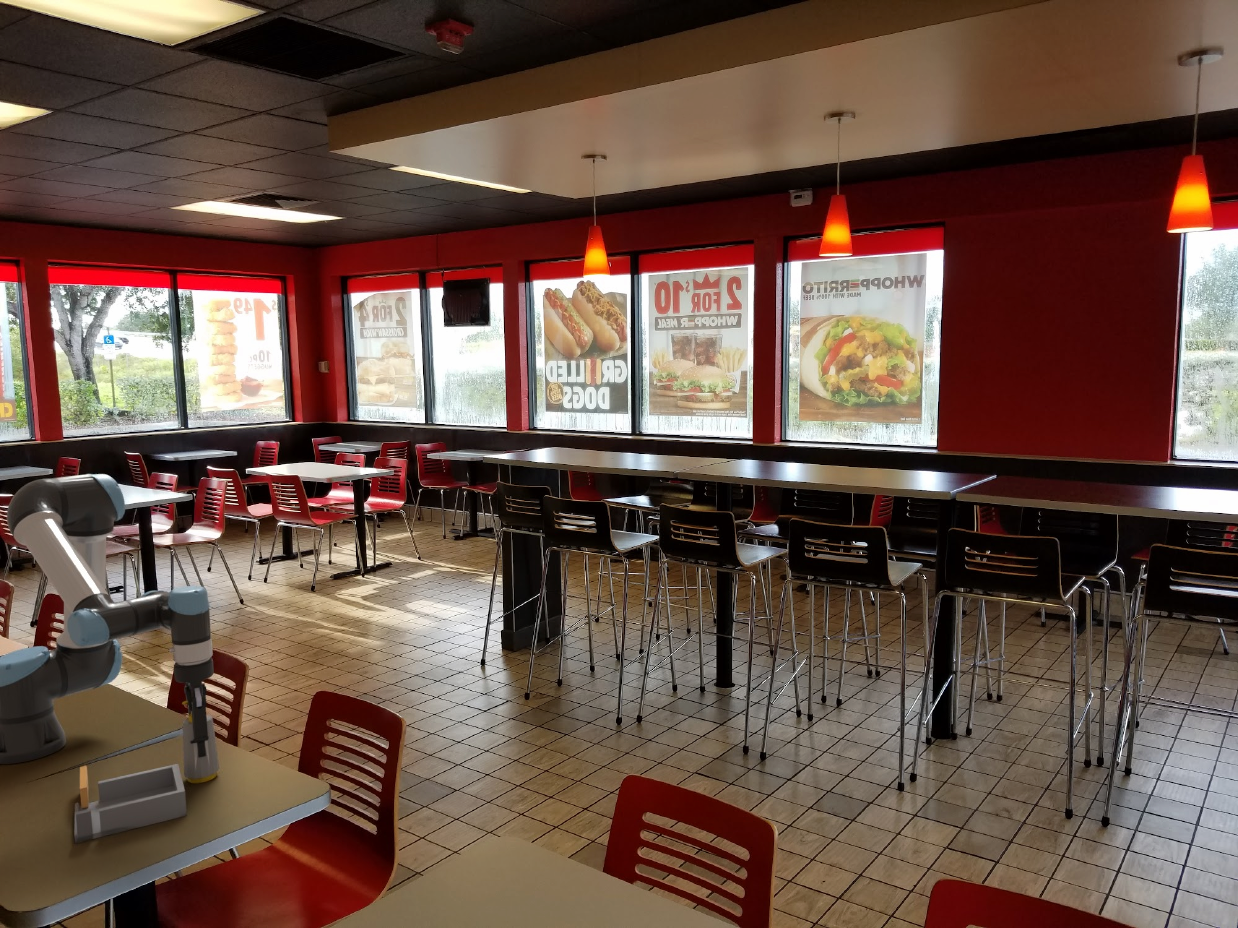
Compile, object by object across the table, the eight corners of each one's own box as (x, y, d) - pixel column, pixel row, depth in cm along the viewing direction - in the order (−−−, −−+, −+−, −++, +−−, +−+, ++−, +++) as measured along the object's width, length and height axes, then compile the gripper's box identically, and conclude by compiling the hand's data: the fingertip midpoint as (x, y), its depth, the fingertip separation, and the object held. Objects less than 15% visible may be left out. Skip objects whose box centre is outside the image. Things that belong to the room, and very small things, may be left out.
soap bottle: (176, 782, 187) (170, 700, 186) (202, 768, 194) (196, 689, 192) (201, 786, 185) (195, 704, 183) (226, 772, 191) (221, 692, 190)
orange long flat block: (81, 785, 184) (79, 766, 184) (88, 783, 185) (86, 765, 184) (81, 808, 174) (79, 788, 174) (88, 806, 175) (86, 787, 174)
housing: (75, 810, 176) (73, 784, 175) (179, 786, 185) (177, 761, 185) (75, 843, 163) (72, 815, 162) (186, 815, 173) (184, 788, 172)
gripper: (169, 652, 192) (177, 755, 195) (177, 674, 177) (185, 785, 180) (207, 646, 196) (214, 747, 198) (217, 667, 181) (225, 776, 184)
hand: (201, 765), depth 189 cm, fingers open, 4 cm apart
